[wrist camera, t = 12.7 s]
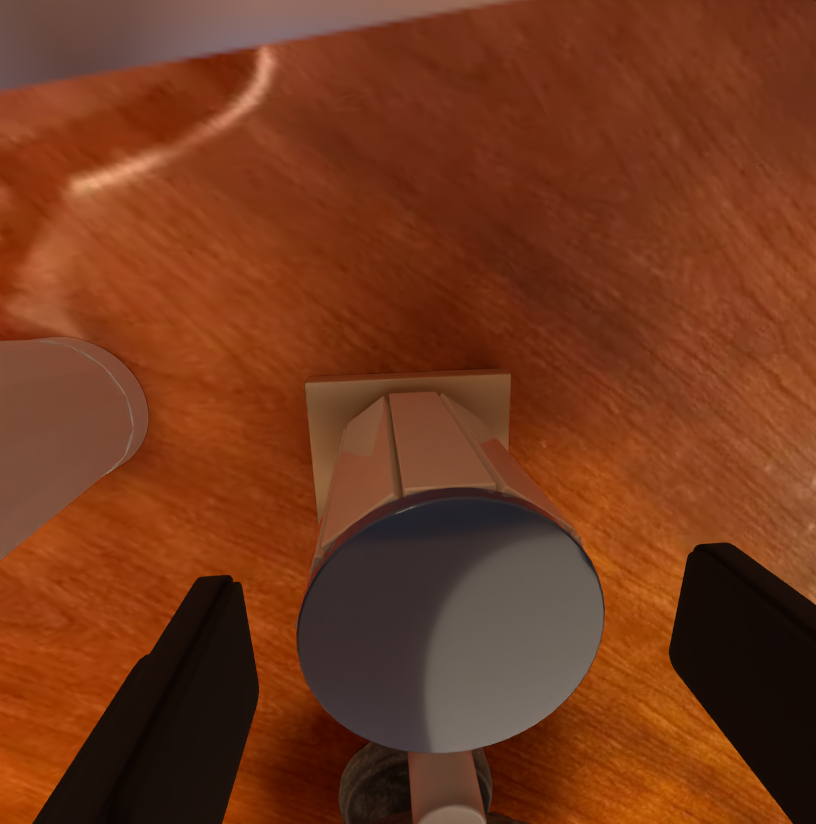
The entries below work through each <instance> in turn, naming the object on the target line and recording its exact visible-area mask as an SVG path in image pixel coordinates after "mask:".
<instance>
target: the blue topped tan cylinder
mask: <svg viewBox="0 0 816 824" xmlns="http://www.w3.org/2000/svg"><path fill="white" fill-rule="evenodd" d="M604 613H605V607H604V598H603V591H602V587H601V584H600V580H599V576H598V574H597V572H596V570H595V567H594V565H593V563H592V561H591V559H590V558H589V556H588V555H587V553H586V552H585V550H584V548H583V544H582V540H581V537H580V536H579V535H578V533H577V532H576V531H575V530H574V528H573V526H572V525H571V524H570V523H569V522H568V520H567V519H566V518H565V517H564V516H563V515H562V513H561V512H560V511H559V510H558V509H557V508H556V506H555V505H554V504H553V503H552V502H551V501H550V500H549V498H548V497H547V496H546V495H545V494H544V493H543V491H542V490H541V489H540V488H539V487H538V486H537V484H536V483H535V482H534V481H533V480H532V479H531V477H530V476H529V475H528V474H527V473H526V472H525V471H524V469H523V468H522V467H521V466H520V465H519V464H518V462H517V461H516V460H515V459H514V458H513V457H512V455H511V454H510V453H509V452H508V451H507V450H506V449H505V447H504V446H503V445H502V444H501V443H500V442H499V440H498V439H497V438H496V437H495V436H494V435H493V433H492V432H491V431H490V430H489V429H488V428H487V427H486V425H485V424H484V423H483V422H482V421H481V420H480V418H479V417H477V416H476V415H474V414H473V413H471V412H470V411H468V410H467V409H465V408H464V407H462V406H461V405H459V404H458V403H456V402H455V401H453V400H452V399H450V398H449V397H447V396H446V395H444V394H441V395H440V396H439V395H438V394H437V392H415V393H393V394H389V401H388V400H387V399H386V398H385V397H384V396H382V397H381V398H380V399H379V400H377V401H376V402H375V403H373V404H372V405H371V406H370V407H368V408H367V409H366V410H364V411H363V412H362V413H361V414H359V415H358V416H357V417H355V418H354V419H353V420H352V421H350V422H349V423H348V424H347V426H346V430H345V429H344V430H343V432H342V436H341V440H340V443H339V447H338V451H337V455H336V458H335V462H334V466H333V470H332V474H331V478H330V482H329V486H328V490H327V495H326V499H325V503H324V507H323V511H322V515H321V520H320V524H319V528H318V532H317V536H316V540H315V544H314V549H313V553H312V557H311V561H310V565H309V569H308V574H307V578H306V582H305V586H304V590H303V594H302V599H301V603H300V607H299V611H298V615H297V619H296V624H295V629H297V632H296V638H297V653H298V657H299V662H300V667H301V670H302V672H303V675H304V677H305V680H306V683H307V685H308V686H309V688H310V690H311V692H312V693H313V695H314V697H315V698H316V700H317V701H318V702H319V703H320V704H321V706H322V707H323V708H324V709H325V711H326V712H327V713H329V714H330V715H331V716H332V717H333V718H334V719H335V720H336V721H337V722H338V723H340V724H341V725H343V726H344V727H346V728H347V729H348V730H350V731H351V732H353V733H355V734H357V735H359V736H361V737H363V738H364V739H366V740H369V741H371V742H374V743H377V744H379V745H382V746H385V747H389V748H393V749H397V750H401V751H408V752H415V753H430V754H441V753H456V752H462V751H469V750H474V749H478V748H482V747H486V746H490V745H493V744H496V743H498V742H501V741H504V740H507V739H509V738H511V737H513V736H515V735H517V734H520V733H522V732H524V731H526V730H527V729H529V728H531V727H532V726H534V725H536V724H537V723H539V722H540V721H542V720H543V719H544V718H546V717H547V716H548V715H550V714H551V713H552V712H554V711H555V710H556V709H557V708H558V707H559V706H560V705H561V704H562V703H563V702H565V701H566V700H567V699H568V697H569V696H570V695H571V694H572V693H573V692H574V691H575V689H576V688H577V687H578V686H579V684H580V683H581V681H582V680H583V678H584V677H585V675H586V674H587V672H588V671H589V669H590V667H591V665H592V663H593V661H594V659H595V657H596V654H597V651H598V648H599V645H600V642H601V638H602V633H603V628H604Z"/></svg>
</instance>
